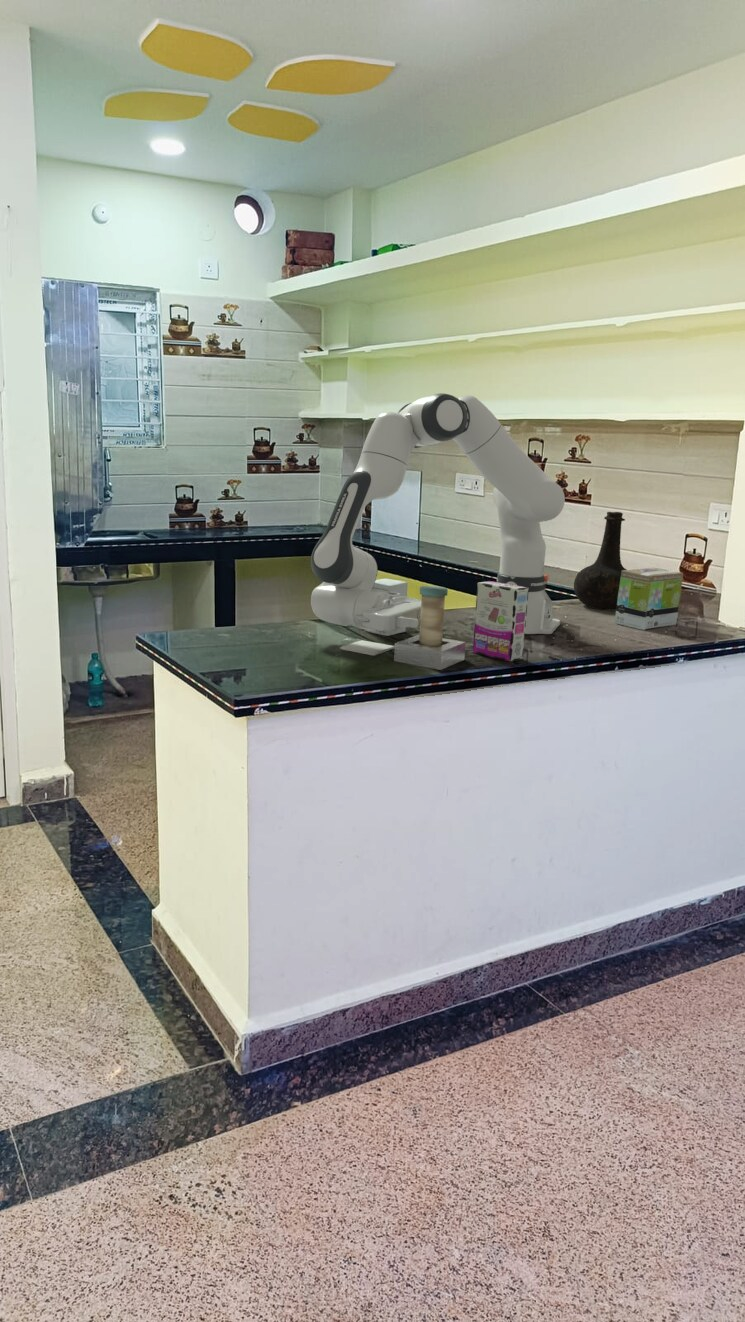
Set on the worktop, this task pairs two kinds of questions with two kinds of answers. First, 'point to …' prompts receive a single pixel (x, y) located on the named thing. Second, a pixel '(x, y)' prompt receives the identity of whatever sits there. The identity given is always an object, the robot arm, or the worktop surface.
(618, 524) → the glass bottle
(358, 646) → the white mat
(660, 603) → the tea box
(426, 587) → the birch stopper
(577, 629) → the worktop surface
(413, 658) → the metal collar
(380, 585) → the supplement box
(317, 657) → the worktop surface
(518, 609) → the candy bar box
